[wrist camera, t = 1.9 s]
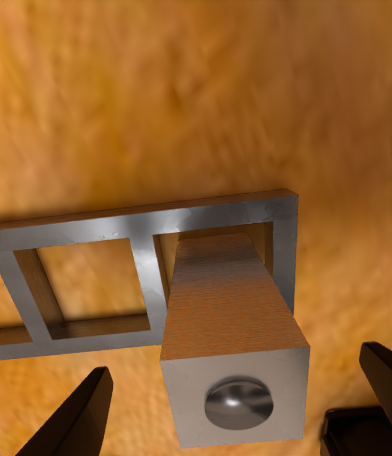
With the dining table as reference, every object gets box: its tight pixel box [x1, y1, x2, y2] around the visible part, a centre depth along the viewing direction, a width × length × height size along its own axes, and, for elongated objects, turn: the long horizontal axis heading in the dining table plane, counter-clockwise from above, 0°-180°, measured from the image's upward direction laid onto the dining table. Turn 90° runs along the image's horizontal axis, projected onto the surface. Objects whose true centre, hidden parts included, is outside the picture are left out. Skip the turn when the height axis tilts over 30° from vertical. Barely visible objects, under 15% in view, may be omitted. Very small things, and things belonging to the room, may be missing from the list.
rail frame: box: [0, 189, 298, 360], centre depth 14 cm, size 23×10×2 cm, turn 97°
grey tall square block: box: [160, 232, 310, 449], centre depth 11 cm, size 4×4×8 cm
